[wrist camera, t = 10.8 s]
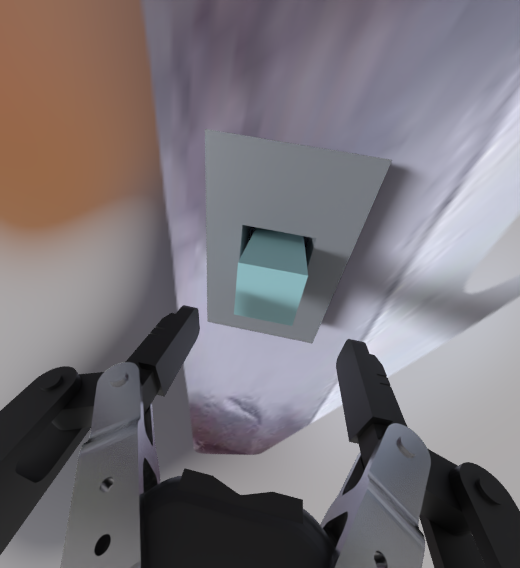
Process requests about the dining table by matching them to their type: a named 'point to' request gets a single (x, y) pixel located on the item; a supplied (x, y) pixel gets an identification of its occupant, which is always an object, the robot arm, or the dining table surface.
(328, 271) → the grey slotted block
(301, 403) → the dining table surface
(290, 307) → the teal rectangular block
